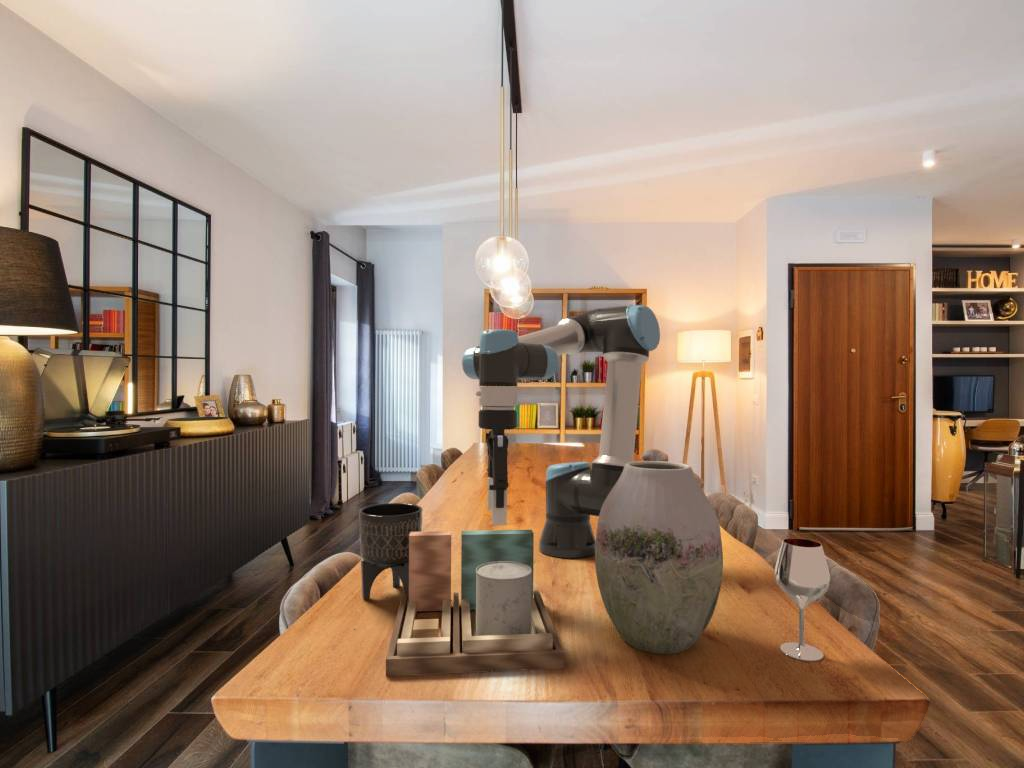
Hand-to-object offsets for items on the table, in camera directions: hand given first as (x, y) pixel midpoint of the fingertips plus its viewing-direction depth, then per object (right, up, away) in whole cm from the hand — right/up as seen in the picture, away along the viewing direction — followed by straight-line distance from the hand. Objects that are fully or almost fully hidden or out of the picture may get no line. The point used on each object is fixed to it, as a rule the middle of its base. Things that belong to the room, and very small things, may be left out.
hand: (496, 516), depth 113 cm
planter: (-22, -18, +7) cm, 29 cm away
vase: (+28, -18, -14) cm, 36 cm away
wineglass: (+51, -18, -18) cm, 57 cm away
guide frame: (-4, -18, -12) cm, 22 cm away
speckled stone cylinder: (+2, -18, -15) cm, 24 cm away
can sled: (+1, -18, -11) cm, 21 cm away
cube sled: (-12, -18, -12) cm, 25 cm away
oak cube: (-11, -18, -18) cm, 27 cm away
